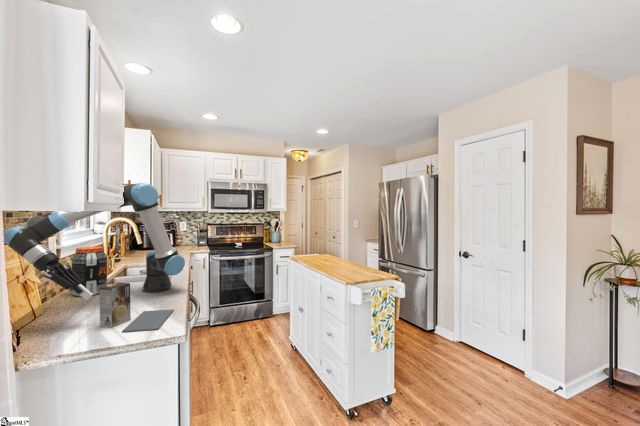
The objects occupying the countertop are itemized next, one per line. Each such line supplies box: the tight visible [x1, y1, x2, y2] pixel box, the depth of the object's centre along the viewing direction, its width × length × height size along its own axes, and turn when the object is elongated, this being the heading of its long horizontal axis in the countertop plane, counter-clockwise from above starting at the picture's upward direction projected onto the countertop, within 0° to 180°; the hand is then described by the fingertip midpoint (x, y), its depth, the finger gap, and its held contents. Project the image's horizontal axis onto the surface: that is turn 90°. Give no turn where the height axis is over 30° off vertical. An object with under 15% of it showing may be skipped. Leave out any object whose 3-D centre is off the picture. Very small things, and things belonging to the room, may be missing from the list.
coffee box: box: [99, 282, 132, 328], centre depth 122 cm, size 9×6×16 cm
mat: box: [121, 308, 175, 333], centre depth 125 cm, size 22×13×1 cm, turn 12°
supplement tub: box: [71, 245, 108, 297], centre depth 163 cm, size 16×16×26 cm
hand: (89, 297), depth 120 cm, fingers closed
